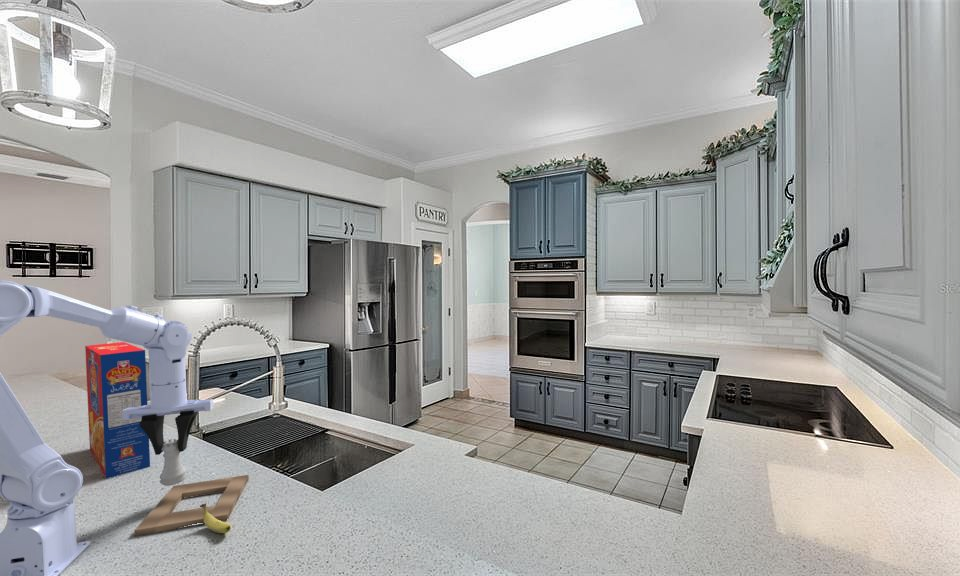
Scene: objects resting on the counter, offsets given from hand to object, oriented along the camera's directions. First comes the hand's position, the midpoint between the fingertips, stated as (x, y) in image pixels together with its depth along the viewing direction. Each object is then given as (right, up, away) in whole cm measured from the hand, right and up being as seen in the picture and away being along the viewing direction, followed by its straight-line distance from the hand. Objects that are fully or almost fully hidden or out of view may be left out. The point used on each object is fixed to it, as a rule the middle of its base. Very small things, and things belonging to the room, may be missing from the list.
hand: (171, 451), depth 83 cm
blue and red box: (-31, -11, +25) cm, 41 cm away
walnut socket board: (+6, -10, -1) cm, 12 cm away
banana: (+15, -10, -10) cm, 21 cm away
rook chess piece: (0, -6, +1) cm, 6 cm away
